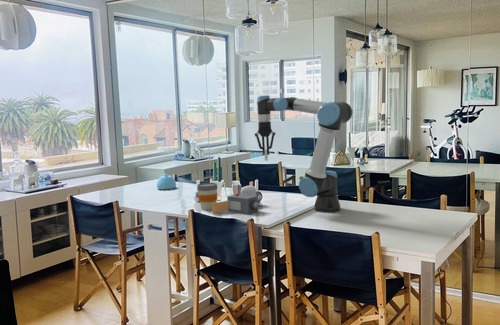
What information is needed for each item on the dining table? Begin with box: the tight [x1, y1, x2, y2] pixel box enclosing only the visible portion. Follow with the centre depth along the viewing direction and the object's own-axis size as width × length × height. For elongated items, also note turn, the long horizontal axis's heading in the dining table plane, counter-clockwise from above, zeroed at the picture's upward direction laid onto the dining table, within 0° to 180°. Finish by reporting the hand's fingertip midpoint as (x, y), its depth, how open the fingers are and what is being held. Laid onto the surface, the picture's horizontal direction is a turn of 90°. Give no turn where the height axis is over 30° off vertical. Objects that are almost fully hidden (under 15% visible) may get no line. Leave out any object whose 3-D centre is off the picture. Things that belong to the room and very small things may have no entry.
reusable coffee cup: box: [196, 182, 218, 211], centre depth 292 cm, size 13×12×15 cm
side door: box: [212, 199, 229, 213], centre depth 279 cm, size 11×1×6 cm, turn 121°
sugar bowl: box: [156, 173, 177, 190], centre depth 368 cm, size 15×15×12 cm
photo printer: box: [240, 185, 257, 196], centre depth 296 cm, size 10×4×12 cm, turn 123°
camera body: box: [227, 192, 260, 215], centre depth 280 cm, size 18×9×10 cm, turn 51°
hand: (266, 160), depth 285 cm, fingers closed
